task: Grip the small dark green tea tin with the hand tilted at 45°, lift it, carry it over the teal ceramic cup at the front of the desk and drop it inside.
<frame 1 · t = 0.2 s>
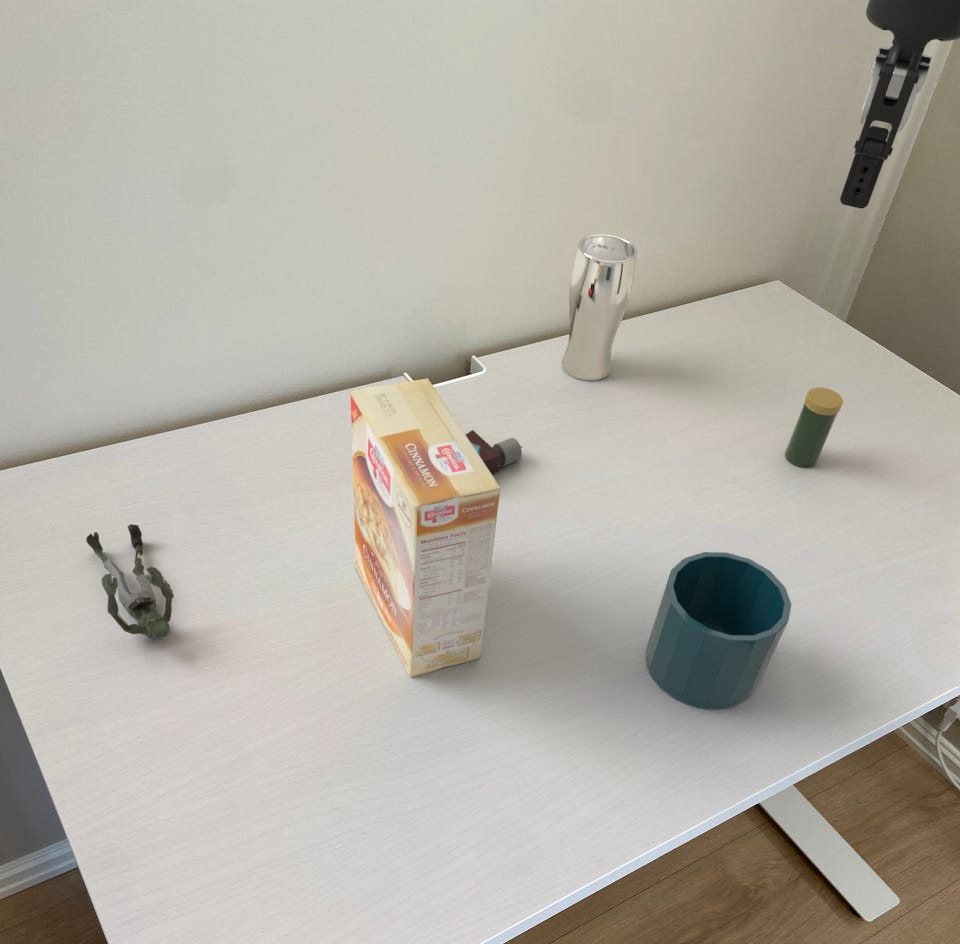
hand: (858, 186, 80), 32 cm above the table, tool pointing down, fingers open, 8 cm apart
tea tin: (800, 457, 108), on the table
zombie figurine: (136, 602, 86), on the table
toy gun: (459, 458, 104), on the table
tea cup: (701, 664, 86), on the table
coffeecake box: (415, 612, 88), on the table
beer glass: (585, 368, 117), on the table
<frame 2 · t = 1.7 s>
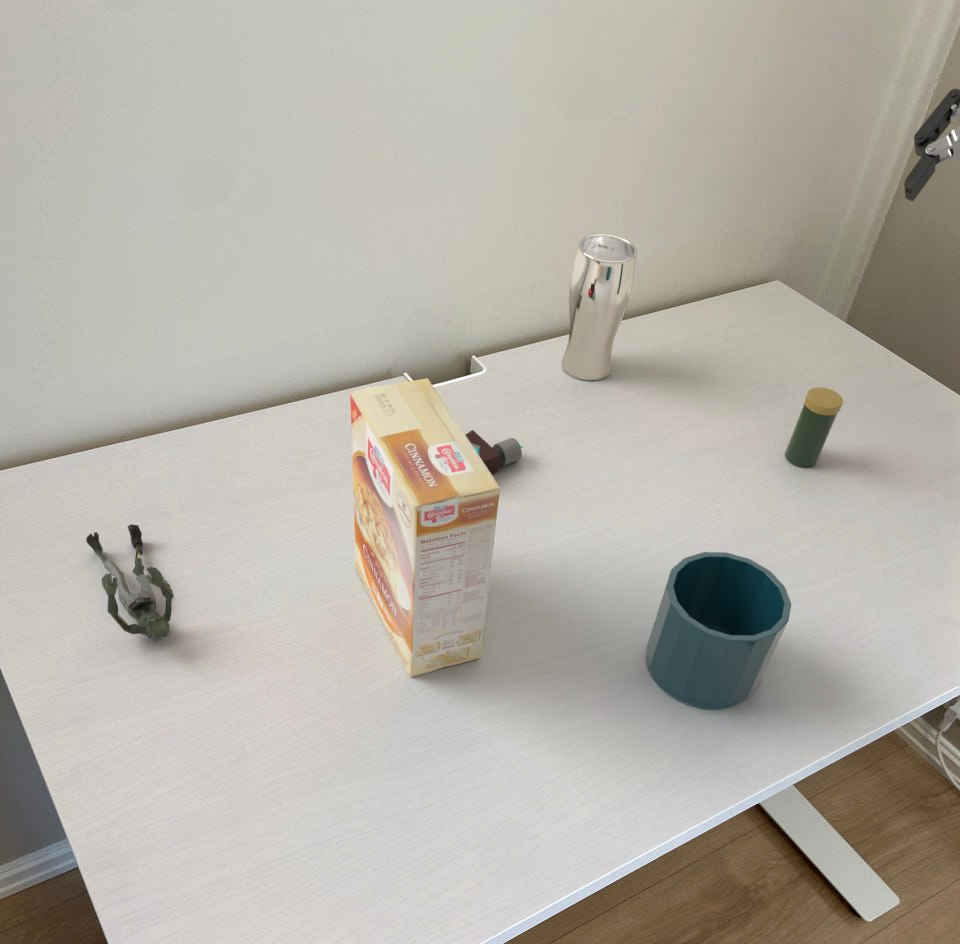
hand: (946, 212, 95), 25 cm above the table, tool tilted 45°, fingers open, 8 cm apart
nothing on the table moved.
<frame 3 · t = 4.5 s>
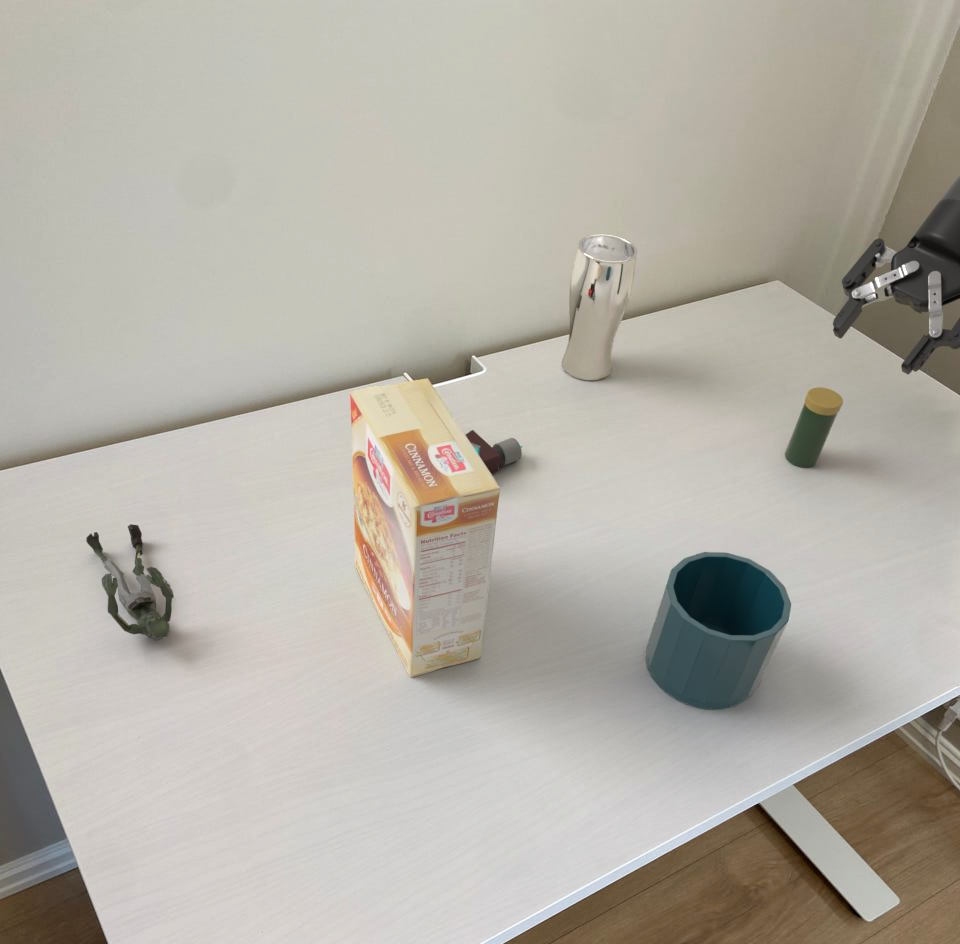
hand: (870, 352, 103), 11 cm above the table, tool tilted 45°, fingers open, 8 cm apart
nothing on the table moved.
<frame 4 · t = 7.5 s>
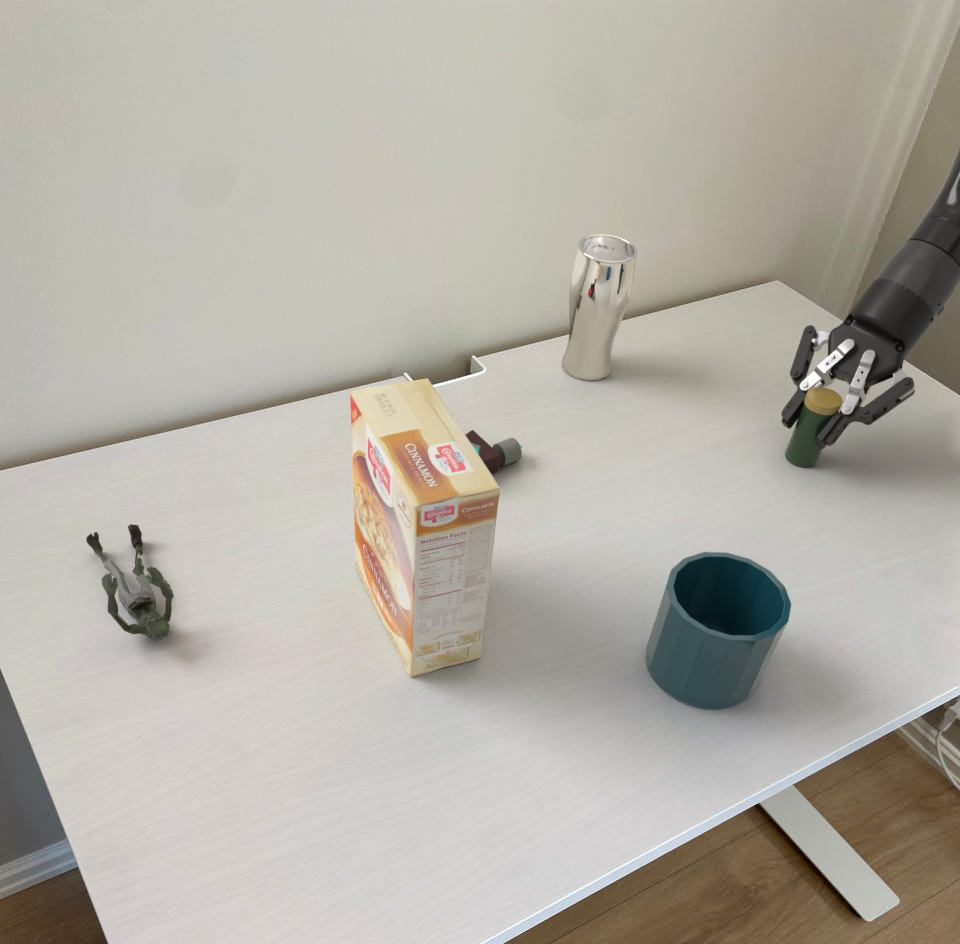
hand: (802, 434, 104), 4 cm above the table, tool tilted 45°, fingers closed on tea tin, 3 cm apart
tea tin: (800, 457, 108), on the table, touching gripper
everything else where it was.
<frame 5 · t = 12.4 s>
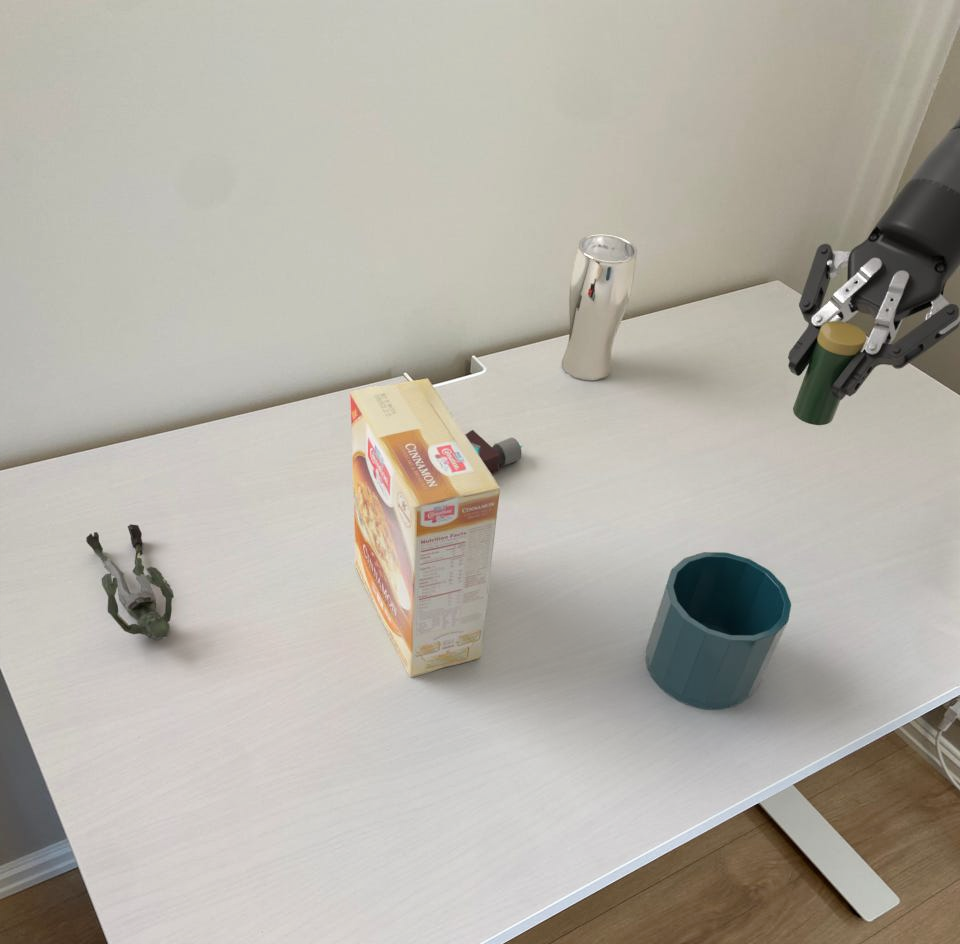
hand: (815, 382, 82), 20 cm above the table, tool tilted 45°, fingers closed on tea tin, 3 cm apart
tea tin: (812, 413, 86), point 16 cm above the table, touching gripper
everything else where it was.
when the fingers open (11 cm above the table, at t = 17.7 s): tea tin drops 6 cm, resting on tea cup.
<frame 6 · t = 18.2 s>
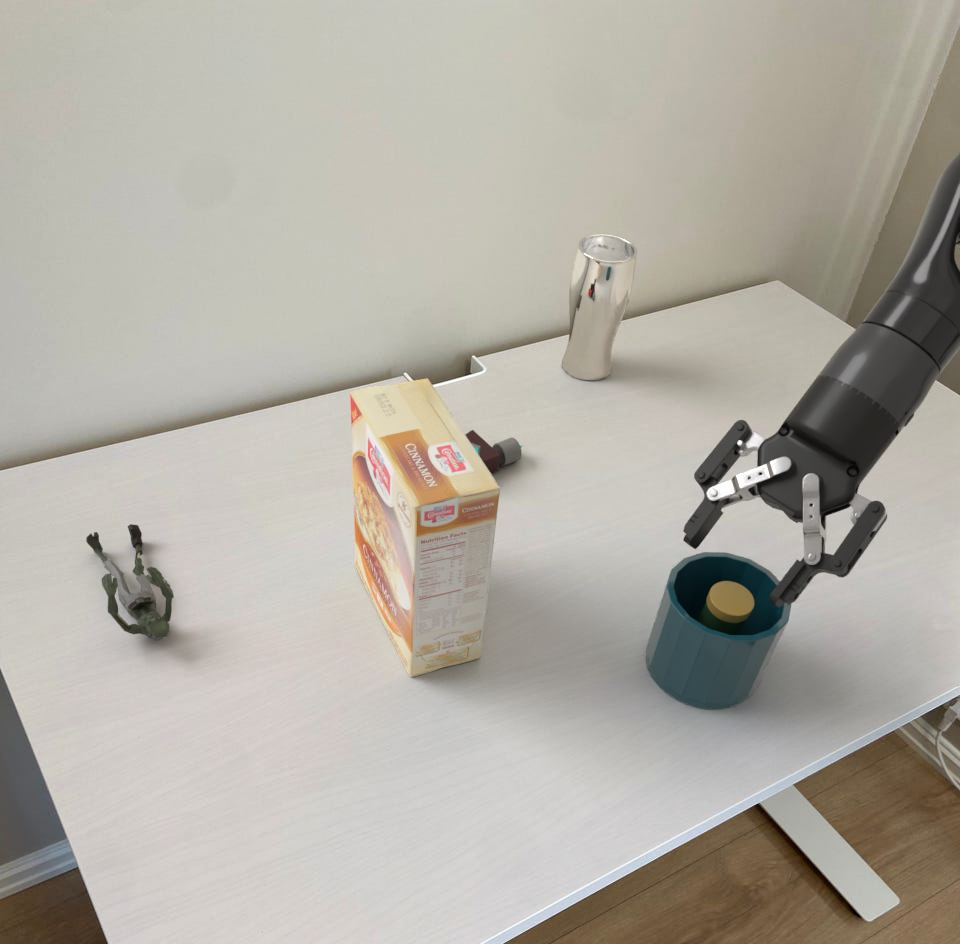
hand: (730, 573, 77), 12 cm above the table, tool tilted 45°, fingers open, 8 cm apart
tea tin: (702, 655, 86), point 1 cm above the table, touching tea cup
everything else where it was.
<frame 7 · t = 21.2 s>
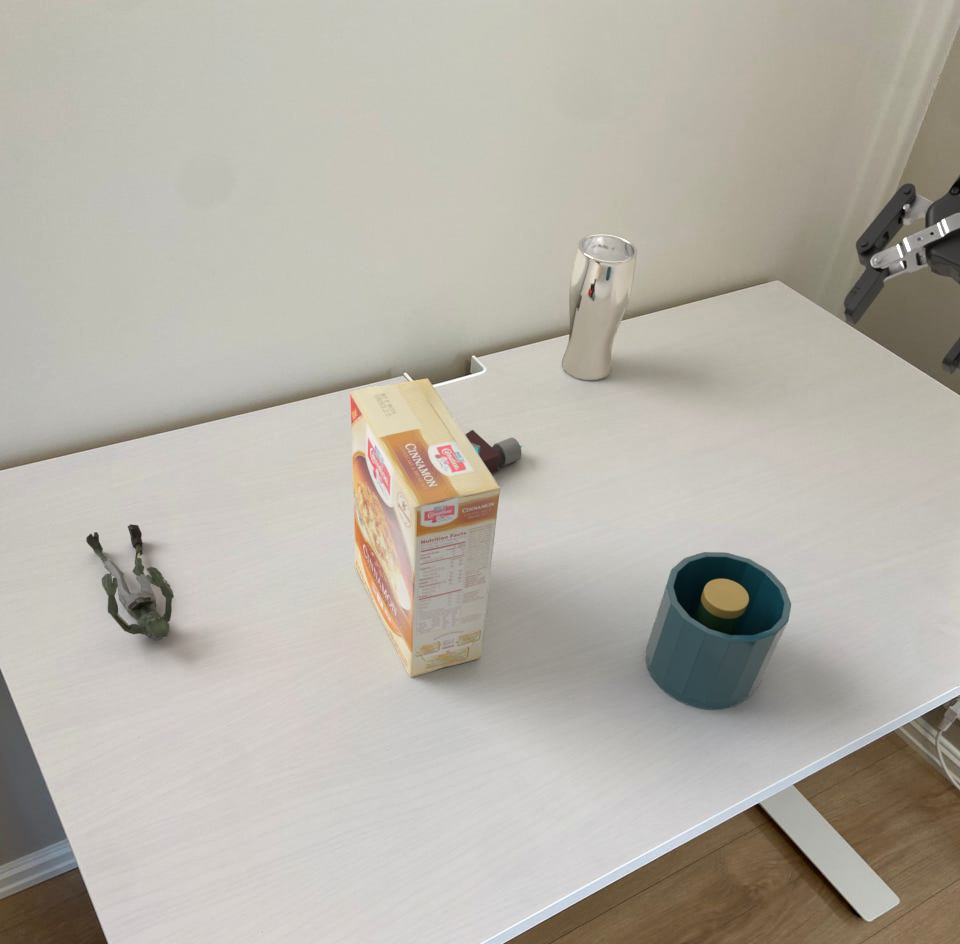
hand: (896, 343, 74), 27 cm above the table, tool tilted 45°, fingers open, 8 cm apart
nothing on the table moved.
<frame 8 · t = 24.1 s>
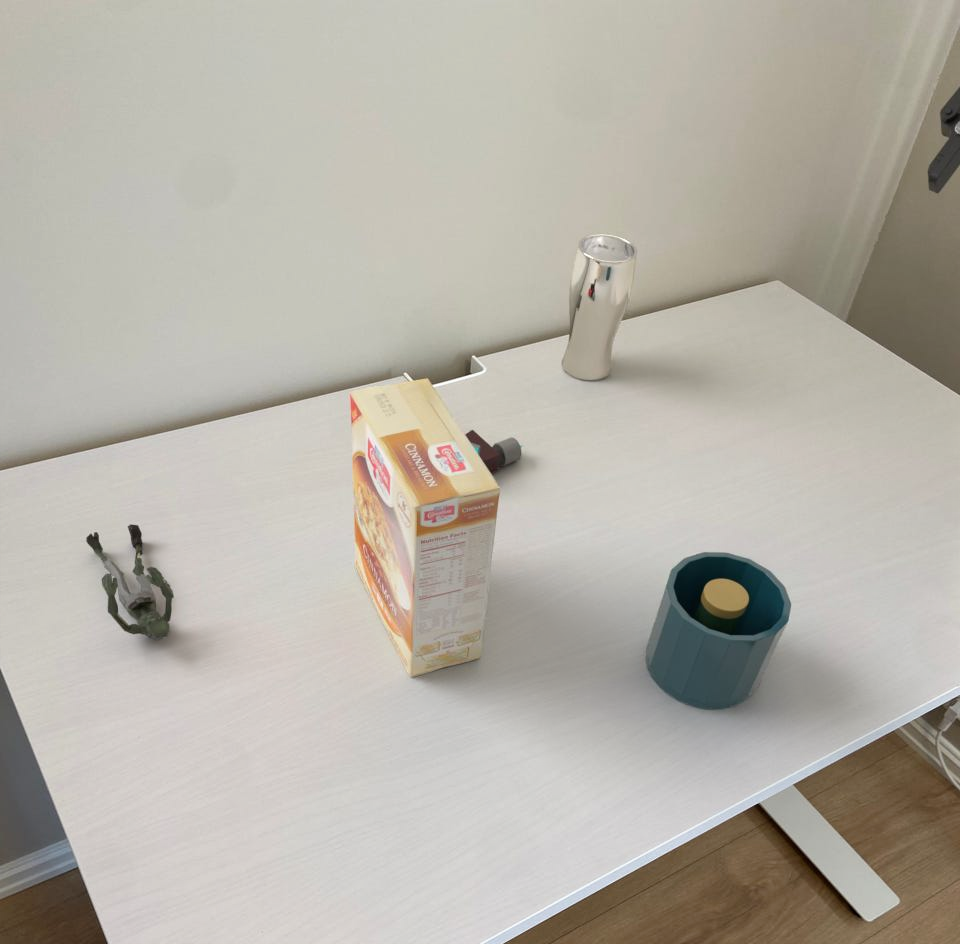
nothing on the table moved.
at the end: tea tin inside the target area in the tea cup (0.2 cm from its centre), point 0.8 cm above the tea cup's base; the gripper is holding nothing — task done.
